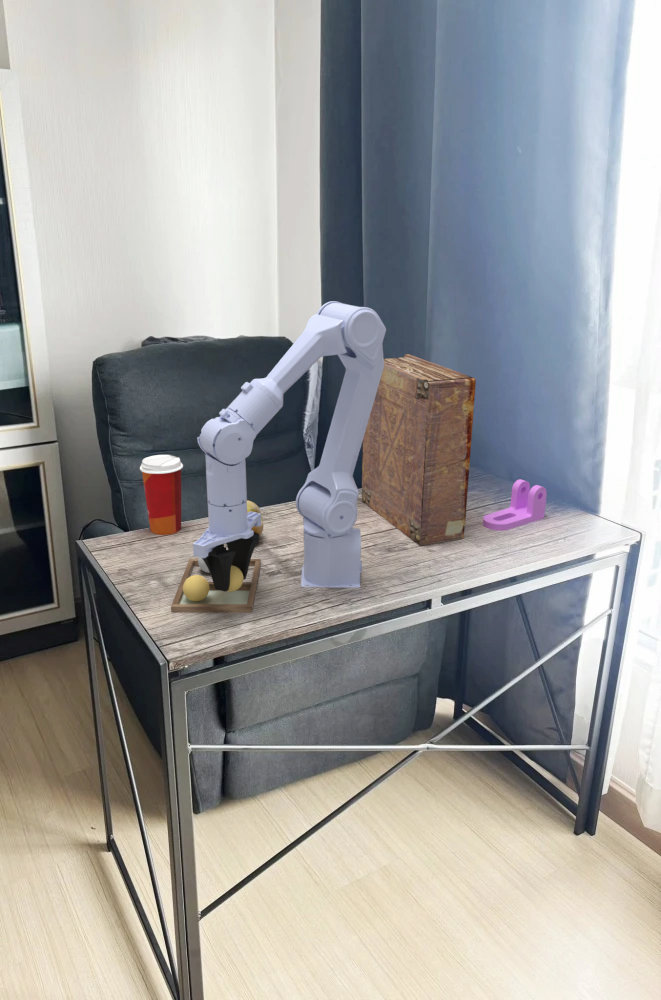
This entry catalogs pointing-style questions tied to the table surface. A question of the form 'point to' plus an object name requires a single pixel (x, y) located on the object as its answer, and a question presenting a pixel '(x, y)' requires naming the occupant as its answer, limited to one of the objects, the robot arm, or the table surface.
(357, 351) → the robot arm
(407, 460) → the book
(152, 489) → the paper cup
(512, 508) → the bracket
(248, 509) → the fruit
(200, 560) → the grey ball
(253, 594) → the sorting board
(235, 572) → the ochre ball
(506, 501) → the table surface
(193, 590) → the ochre ball
